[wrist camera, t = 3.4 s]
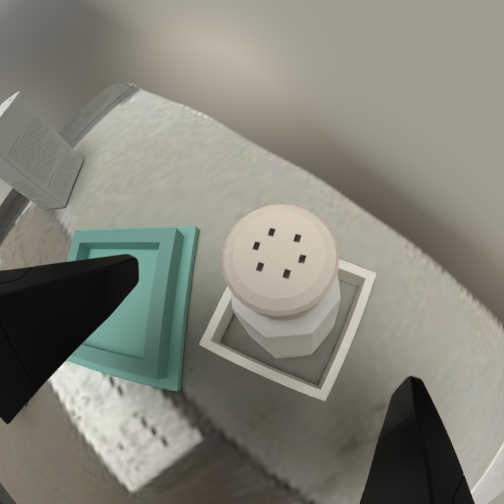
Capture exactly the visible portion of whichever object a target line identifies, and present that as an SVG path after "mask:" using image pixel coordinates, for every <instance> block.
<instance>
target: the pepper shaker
mask: <svg viewBox="0 0 504 504" xmlns="http://www.w3.org/2000/svg"><path fill="white" fill-rule="evenodd" d="M221 256H222V272H223V275H224V279H225V282H226V284H227V286H228V287H229V289H230V291H231V297H232V309H233V311H234V314H235V315H236V317H237V318H238V320H239V321H240V323H241V324H242V326H243V327H244V329H245V330H246V332H247V333H248V335H249V336H250V337H251V338H252V339H253V340H255V341H256V342H257V343H258V344H259V345H260V346H261V347H263V348H264V349H265V350H266V351H267V352H269V353H270V354H271V355H272V356H273V357H274V358H276V359H280V358H291V357H301V356H311V355H312V354H313V353H314V352H315V350H316V349H317V348H318V347H319V346H320V344H321V343H322V342H323V341H324V340H325V338H326V337H327V336H328V335H329V333H330V332H331V331H332V330H333V328H334V325H335V322H336V318H337V314H338V310H339V306H340V303H341V296H340V286H339V279H338V268H339V258H340V256H339V251H338V245H337V241H336V239H335V237H334V235H333V233H332V231H331V229H330V228H329V227H328V226H327V224H326V223H325V222H324V221H323V220H322V219H321V218H320V217H318V216H317V215H315V214H314V213H313V212H311V211H310V210H307V209H304V208H302V207H299V206H296V205H288V204H276V205H267V206H264V207H262V208H259V209H256V210H254V211H252V212H251V213H249V214H247V215H246V216H244V217H243V218H241V220H240V221H239V222H238V223H237V224H236V225H235V226H234V227H233V228H232V229H231V231H230V233H229V235H228V237H227V239H226V240H225V243H224V247H223V251H222V255H221Z"/></svg>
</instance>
